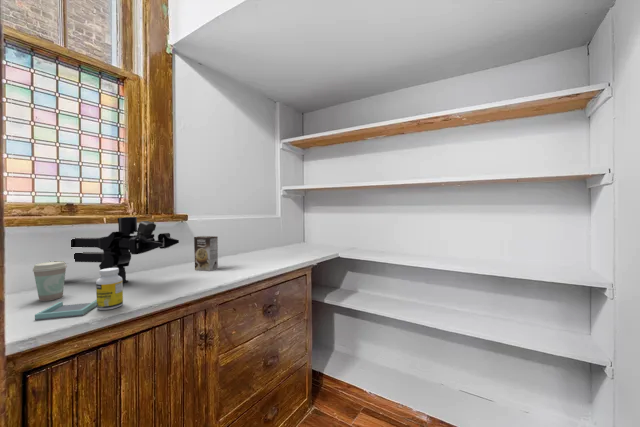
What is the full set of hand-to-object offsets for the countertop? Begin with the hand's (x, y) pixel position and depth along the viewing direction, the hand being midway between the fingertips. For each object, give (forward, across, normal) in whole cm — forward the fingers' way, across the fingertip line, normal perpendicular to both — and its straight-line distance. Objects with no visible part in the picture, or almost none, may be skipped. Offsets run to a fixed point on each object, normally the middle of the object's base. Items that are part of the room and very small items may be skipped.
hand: (170, 243), depth 109 cm
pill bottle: (-3, -24, +17) cm, 30 cm away
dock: (-12, -28, +17) cm, 35 cm away
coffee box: (-2, +28, +17) cm, 33 cm away
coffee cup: (-31, -19, +17) cm, 40 cm away
